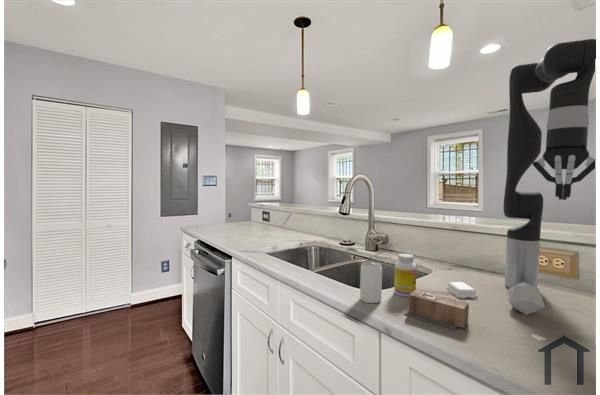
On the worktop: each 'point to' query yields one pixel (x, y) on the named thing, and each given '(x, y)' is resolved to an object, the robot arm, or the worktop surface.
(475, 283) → the worktop surface
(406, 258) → the supplement bottle
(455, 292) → the soap
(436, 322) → the mat
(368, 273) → the can
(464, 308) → the brown wooden block
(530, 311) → the die
